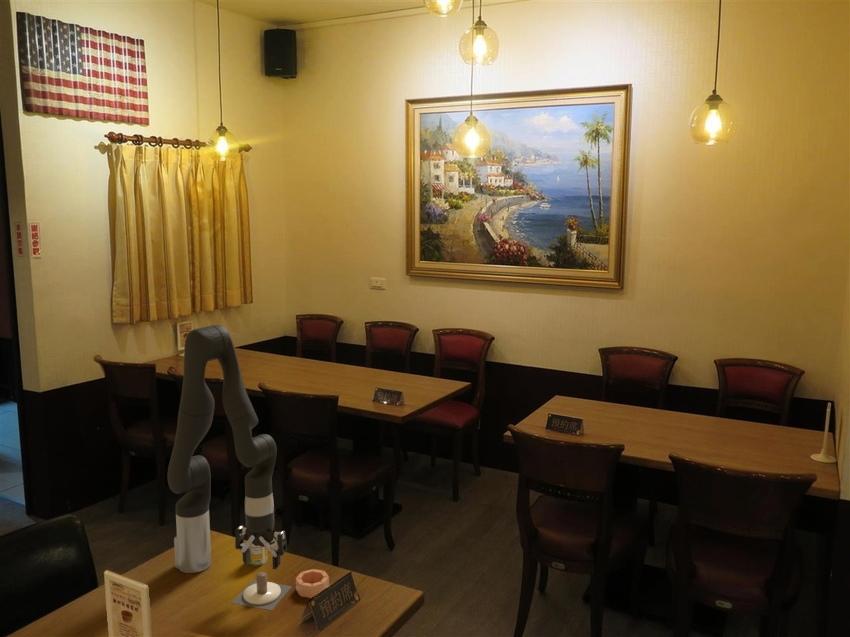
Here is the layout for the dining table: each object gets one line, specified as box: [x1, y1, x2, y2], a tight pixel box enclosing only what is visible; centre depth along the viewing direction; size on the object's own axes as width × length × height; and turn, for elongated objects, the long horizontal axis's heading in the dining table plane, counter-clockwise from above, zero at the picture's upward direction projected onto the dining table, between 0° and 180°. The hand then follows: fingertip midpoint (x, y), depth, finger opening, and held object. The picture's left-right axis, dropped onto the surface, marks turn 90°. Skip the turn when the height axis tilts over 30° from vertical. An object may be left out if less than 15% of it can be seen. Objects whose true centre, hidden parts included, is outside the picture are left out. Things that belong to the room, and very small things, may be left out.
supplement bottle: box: [249, 544, 268, 566], centre depth 207 cm, size 5×5×10 cm
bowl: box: [295, 568, 330, 599], centre depth 193 cm, size 8×8×4 cm
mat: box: [231, 579, 293, 611], centre depth 190 cm, size 12×12×1 cm
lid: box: [243, 571, 281, 605], centre depth 189 cm, size 10×10×6 cm
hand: (261, 565), depth 188 cm, fingers open, 8 cm apart
